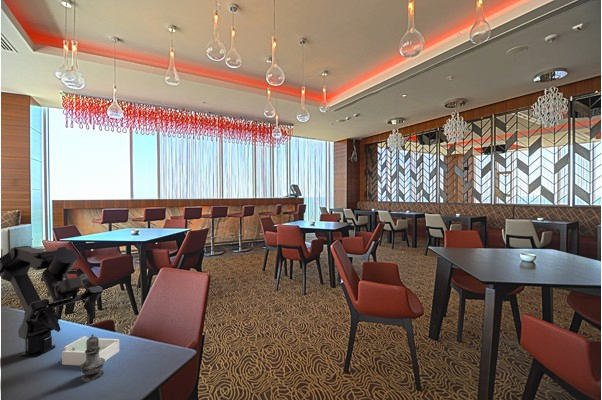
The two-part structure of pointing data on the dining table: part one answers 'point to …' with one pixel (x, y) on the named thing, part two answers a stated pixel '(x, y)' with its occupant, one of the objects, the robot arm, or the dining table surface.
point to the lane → (79, 357)
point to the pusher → (80, 346)
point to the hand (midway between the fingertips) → (77, 324)
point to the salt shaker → (92, 360)
